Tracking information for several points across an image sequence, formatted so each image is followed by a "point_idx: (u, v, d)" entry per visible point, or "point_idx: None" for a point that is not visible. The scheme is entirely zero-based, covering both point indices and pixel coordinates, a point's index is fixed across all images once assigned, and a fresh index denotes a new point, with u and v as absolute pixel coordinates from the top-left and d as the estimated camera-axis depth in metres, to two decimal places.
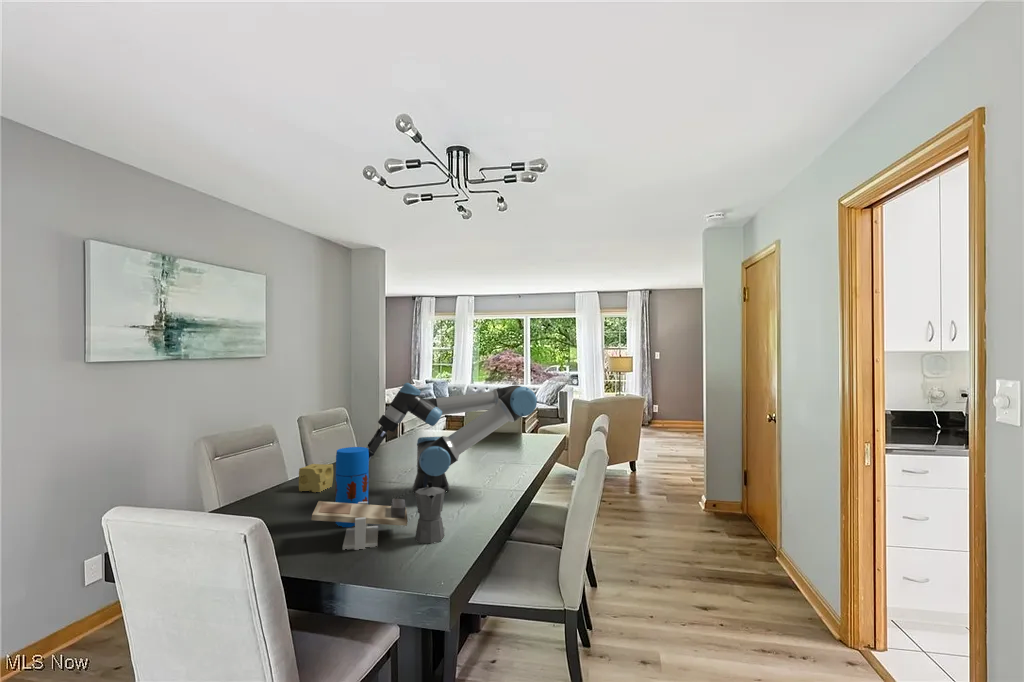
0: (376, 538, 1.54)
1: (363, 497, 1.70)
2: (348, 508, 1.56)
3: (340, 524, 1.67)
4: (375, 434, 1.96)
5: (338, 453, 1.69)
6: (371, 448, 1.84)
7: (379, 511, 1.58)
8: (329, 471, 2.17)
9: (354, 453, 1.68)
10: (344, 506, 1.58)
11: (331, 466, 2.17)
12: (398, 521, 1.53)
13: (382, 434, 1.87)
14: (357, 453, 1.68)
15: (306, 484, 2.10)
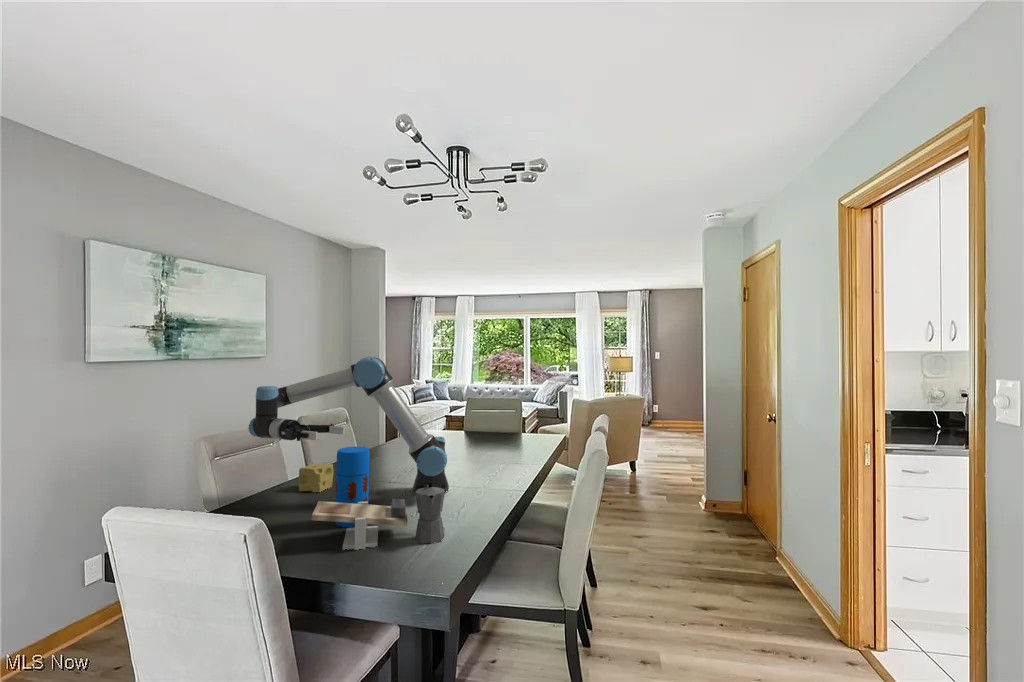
0: (376, 538, 1.54)
1: (363, 497, 1.70)
2: (348, 508, 1.56)
3: (340, 524, 1.67)
4: None
5: (339, 453, 1.68)
6: (290, 437, 1.71)
7: (379, 511, 1.58)
8: (329, 471, 2.17)
9: (355, 453, 1.67)
10: (344, 506, 1.58)
11: (331, 466, 2.17)
12: (398, 521, 1.53)
13: (283, 433, 1.76)
14: (358, 453, 1.68)
15: (306, 484, 2.10)
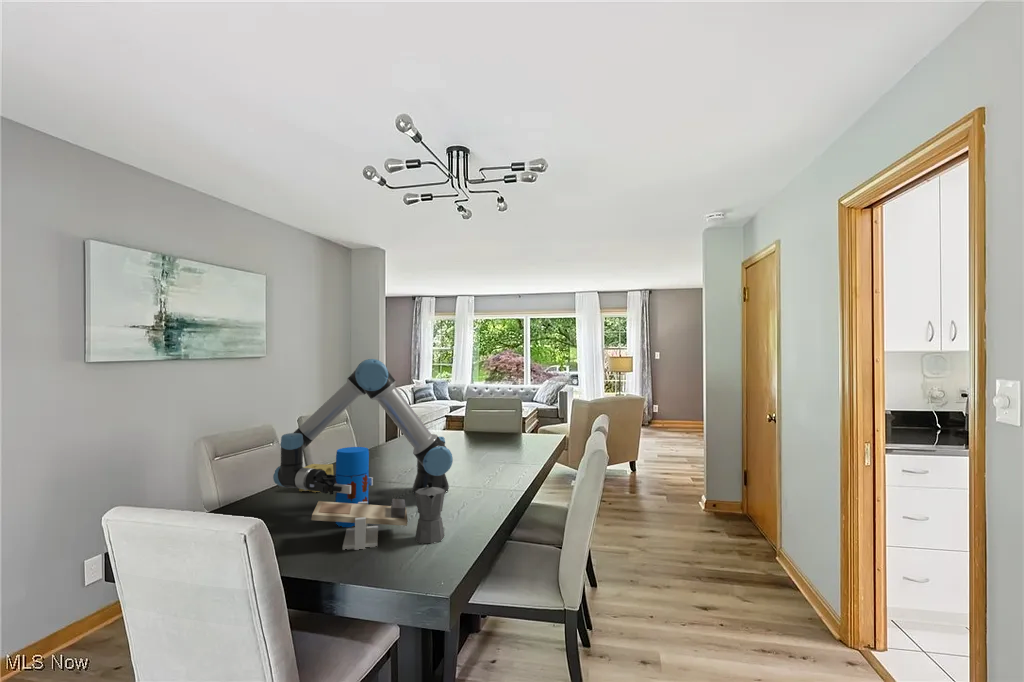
0: (376, 538, 1.54)
1: (363, 497, 1.70)
2: (348, 508, 1.56)
3: (340, 524, 1.67)
4: None
5: (338, 453, 1.69)
6: (322, 491, 1.66)
7: (379, 511, 1.58)
8: (329, 471, 2.17)
9: (354, 453, 1.68)
10: (344, 506, 1.58)
11: (331, 466, 2.17)
12: (398, 521, 1.53)
13: (311, 485, 1.70)
14: (357, 453, 1.68)
15: None
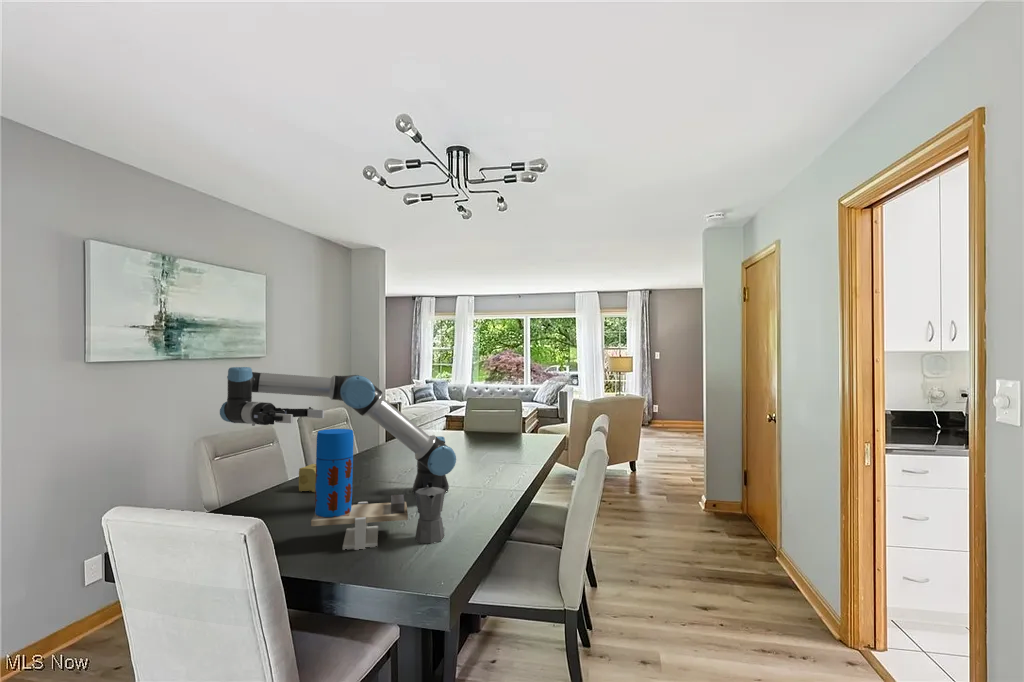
0: (376, 538, 1.54)
1: (346, 484, 1.52)
2: None
3: (320, 513, 1.50)
4: None
5: (319, 434, 1.52)
6: (262, 420, 1.56)
7: (379, 509, 1.58)
8: None
9: (336, 434, 1.51)
10: None
11: None
12: (398, 516, 1.53)
13: (255, 416, 1.60)
14: (340, 434, 1.51)
15: (306, 484, 2.10)
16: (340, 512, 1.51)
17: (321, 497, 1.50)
